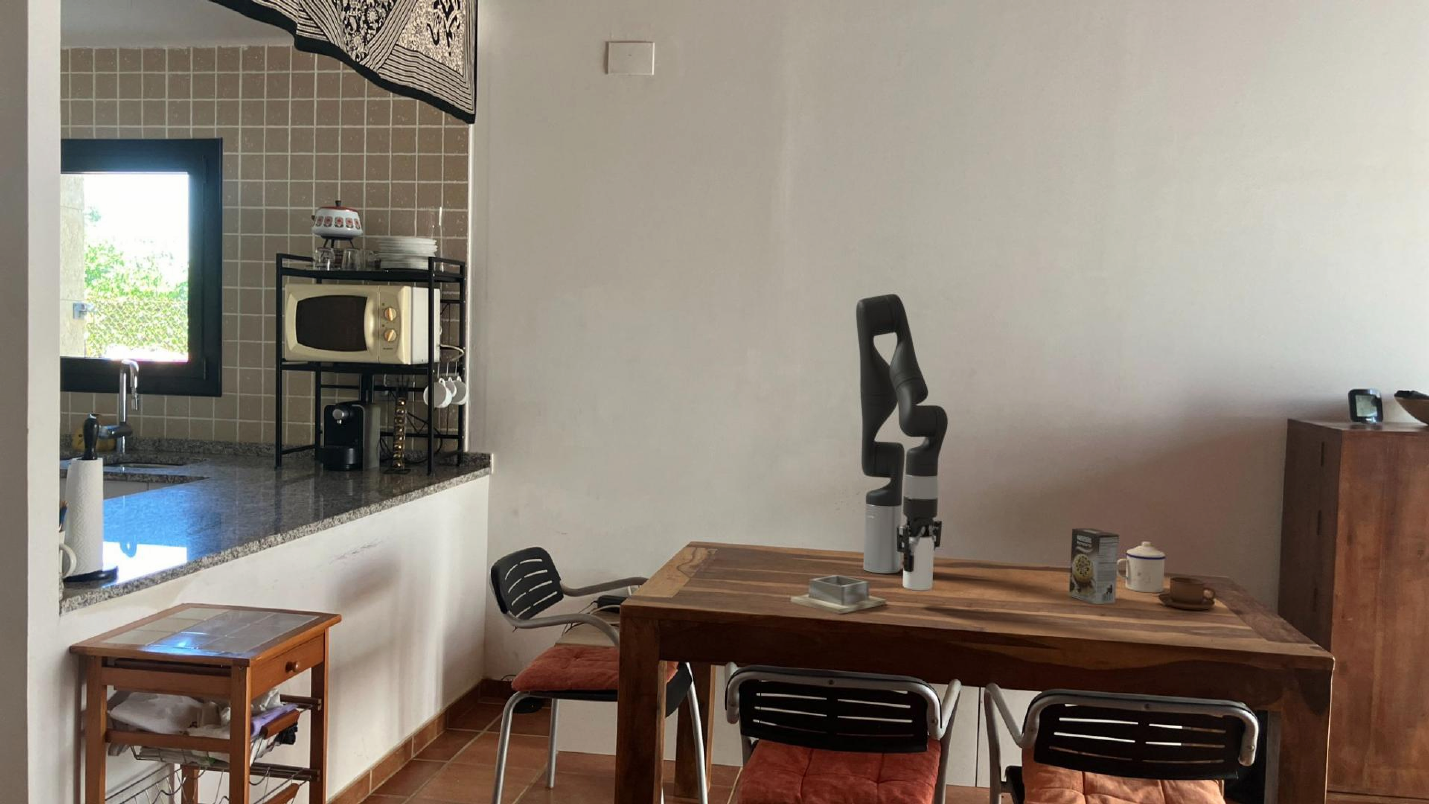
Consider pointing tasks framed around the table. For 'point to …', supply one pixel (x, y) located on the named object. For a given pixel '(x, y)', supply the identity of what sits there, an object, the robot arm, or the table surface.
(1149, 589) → the teacup with lid
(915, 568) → the can
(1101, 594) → the coffee box
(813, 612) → the table surface
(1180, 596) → the cup and saucer
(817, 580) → the socket
